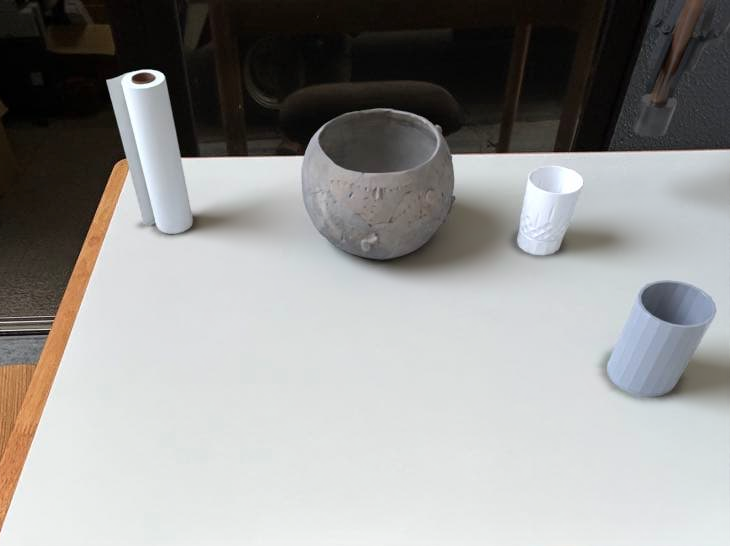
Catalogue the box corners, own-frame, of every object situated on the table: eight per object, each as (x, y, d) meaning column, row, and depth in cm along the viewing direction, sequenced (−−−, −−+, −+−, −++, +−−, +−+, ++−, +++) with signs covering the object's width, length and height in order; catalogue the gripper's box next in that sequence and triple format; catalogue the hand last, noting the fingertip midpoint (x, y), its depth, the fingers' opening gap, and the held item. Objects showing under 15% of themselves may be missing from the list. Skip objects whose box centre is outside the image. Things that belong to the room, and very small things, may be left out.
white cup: (518, 225, 106) (534, 161, 97) (567, 235, 104) (587, 170, 96) (508, 252, 102) (523, 188, 93) (559, 262, 100) (578, 198, 92)
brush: (669, 126, 101) (722, -13, 87) (661, 139, 98) (714, 0, 84) (637, 119, 102) (684, -19, 88) (628, 132, 100) (675, -6, 86)
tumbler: (682, 365, 87) (723, 293, 78) (666, 406, 83) (707, 336, 74) (617, 344, 89) (649, 272, 80) (598, 383, 85) (629, 312, 76)
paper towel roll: (200, 221, 108) (173, 73, 90) (176, 239, 105) (143, 90, 88) (168, 208, 110) (135, 62, 93) (144, 225, 108) (105, 78, 90)
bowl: (278, 255, 102) (269, 155, 90) (340, 185, 114) (340, 87, 101) (414, 293, 97) (425, 192, 84) (466, 214, 108) (482, 115, 95)
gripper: (795, -71, 88) (711, 115, 94) (678, -84, 93) (605, 93, 99) (813, -115, 81) (721, 88, 87) (686, -128, 86) (607, 66, 92)
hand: (660, 90), depth 93 cm, fingers closed on brush, 2 cm apart
